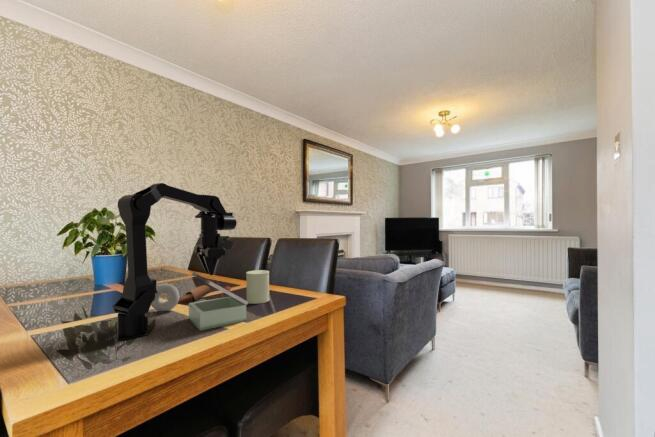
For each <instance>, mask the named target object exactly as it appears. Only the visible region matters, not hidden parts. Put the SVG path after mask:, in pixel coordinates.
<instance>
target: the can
mask: <svg viewBox="0 0 655 437" xmlns="http://www.w3.org/2000/svg"><path fill="white" fill-rule="evenodd" d="M245 273H246V274H245V275H246V276H245V277H246V282H245V283H246V298H245V299H246V301H248V302H249V303H248V304H250V305H251V304H255V305H257V304H258V305H259V304H264V303H267V302H270V270H266V269H256V270H249V271H245Z"/></svg>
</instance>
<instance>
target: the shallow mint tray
mask: <svg viewBox="0 0 655 437" xmlns="http://www.w3.org/2000/svg"><path fill="white" fill-rule="evenodd" d="M188 320H190V322H191V323H192V324H193V325H194V326H195V327H196V328H197V329H198V330H199V332H201V331H205V330H210V329H211V330H212V329H215V328H219V327H224V326H229V325H232V324H233V325H234V324H238V323H241V322H246V321H247V305H246V304H244V303H242V302H240V301H239V300H237V299H235V298H233V297H231V296H225V297H219V298H213V299H206V300H201V301H196V302H194V303H189V304H188Z"/></svg>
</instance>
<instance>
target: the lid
mask: <svg viewBox="0 0 655 437" xmlns="http://www.w3.org/2000/svg"><path fill="white" fill-rule="evenodd" d="M192 272H193V271H192ZM191 276H193V277H194V278H197V279H198V280H200V281H203V282H204V283H205V284H207V285H209V286H211V287H213V288H215V289H216V290H218V291H220V292H223V293H224V294H226V295H227V296H228V297H230V296H231V297H233V298H235V299H237V300H238V301H240V302H242V303H244V304H246V306H247V305H249V304H250V303H249V302H248V301H246V300H245V299H244V298H242V297H240V296H238V295H237V294H234V293H233V292H232V291H231V290H232V288H231V287H230V286H228V285H226V286H225V287H222V286H220V285H218V284H216V283H214V282H213V281H211V280H210V279H207V278H205V277H203V276H202V275H201V274H198V273H196V272H193V273H192V274H191Z"/></svg>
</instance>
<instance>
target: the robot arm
mask: <svg viewBox="0 0 655 437" xmlns="http://www.w3.org/2000/svg"><path fill="white" fill-rule="evenodd" d="M161 199H166V200H170V201H174V202H178V203H182V204H186V205H189V206H192V207H193V208H194V209H195V210H198V211H199V212H198V214H196V215H195V216H194V218H195V219H200V233H199V235H198V236H199V237H200V244H196V245H195V246H194V247H193V248H194V249H193V250H194V252H193V253H195V254H196V256H197V257H198V259H199V261H200V264H201V266H202V267H203V269H204V271H205V273H206V274H209V275H210V276H213V275H214V273H215V270H216V265H217V263H218V260H220V259H221V257H223V256H227V250H230V251H232V250H233V248H234V244H235V241H232V240H229V239H228V237H225V236H221V234H220V233H219V231H232V230H235V229H236V228H237V225H238V224H237V223H238V222H237V219H236V218H235V216H234V215H233V214H234V213H233V212H227V210H226V209H225V207H224V206H223V204H222V202H221V200H220V198H219V196H217V195H212V194H198V193H194V192H191V191H188V190H184V189H182V188H178V187H174V186H171V185H169V184H166V183H164V182H159V183H153V184H151V185H149V186H147V187H146V188H143V189H141V190H139V191H137V192H134V193H132V194H126V195H122V196H121V197H120V198H119V199H118V200H117V209H118V212H119V213H118V214H119V216H120V218H121V220H122V222H123V224H124V227H125V237H126V238H125V239H126V257H127V258H126V259H127V260H126V261H127V273H128V274H127V277H126V279H125V282H124V284H123V289H122V296H120V298H119V299H117V301H115V303H114V304H113V305H112V309H113V311H114V313H115V314H117V331H116V339H117V341H119V342H120V341H124V340H130V339H133V338H139V337H143V336H144V337H145V336H146V335H147V332H148V316H147V314H149V312H150V308H151V307H152V306H151V303H152V302H153V301H154V299H155V293H158V292H157V290H156V286H157V285H158V284H157V282H158V281H157V279H155V278H151V277H150V276H149V272H148V255H147V253H148V252H147V231H146V230H147V229H146V227H147V226H146V224H147V223H148V220H149V218H150V216H151V210H152V206H153V205H155V204H156V203H158V202H159V201H160V200H161Z"/></svg>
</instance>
